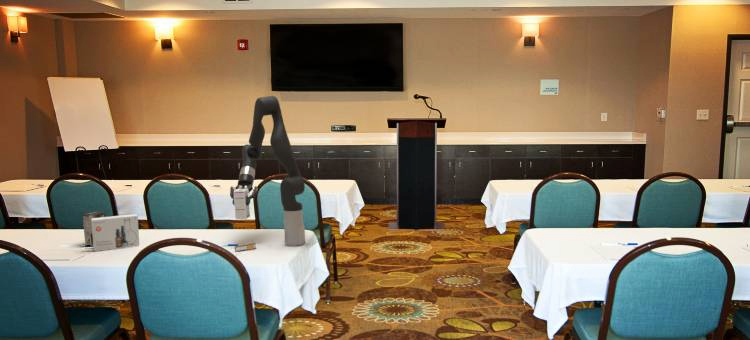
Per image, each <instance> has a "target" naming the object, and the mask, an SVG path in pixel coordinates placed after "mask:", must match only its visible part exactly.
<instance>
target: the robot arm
mask: <svg viewBox="0 0 750 340" xmlns="http://www.w3.org/2000/svg"><path fill="white" fill-rule="evenodd" d="M253 107H254V109H253V117H252V127H251V131H250V133H249V134H250V135H249V137H248V138H249V139H248V143H249V144H248V143H247V144H244V146H243V147H242V150H241V155H242V165H241V168H240V172H239V176H238V180H237V184H236V186H230V191H229V196H230V198H231V199H232V205H233V206H234V207H235V205H234V192H233V191H235V190H237V189H248V191H247V195H248V197H247V200H246V205H247V206H248V205H249V206H250V204H251V200H252V199H253V200H254V199H256V197H257V193H258V191H259V188H258V187H257V185H255V186H253V185H254V181H255V176H256V169H257V161H259V160H261V158H262V156H263V141H264V139H265V135H266V130H265V126H264V124H263V121H262V120H263V118H264V117H265V116H271V118H272V122H273V126H272V131H271V135H270V138H269V139H270V140H269V141H270V146H271V150H272V154H273V156H274V157H275V158H276V160H277V161H278V162H279V163H280V164H281V165H282V166H283V167H284V169H285V170H286V173H287V176H288V177H285V178H283V179H282V180H281V182H280V186H279V188H280V189H279V190H280V198H281V205H282V208H283V225H284V226H283V228H284V244H285V246H289V247H296V246H302V245H303V244H305V243H306V231H305V229H306V228H305V223H304V219H303V217H304V216H303V215H304V214H303V204H302V203H301V202H298V201H297V199H296V196H299V195H302V194H303V193H304V192H305V185H306V184H305V181H304V179H303V176H302V174H301V170H300V169H299V167H298V163H297V162H296V158H295V156H294V153H293V148H292V145H291V142H290V139H289V136H288V133H287V130H286V126H285V123H284V118H283V113H282V109H281V105H280V101H279V99H278V98H277V97H276V96H274V95H270V96H269V95H267V96H261V97H258V98H256V100H255V103H254V106H253ZM251 191H252V192H251ZM250 192H251V194H250Z"/></svg>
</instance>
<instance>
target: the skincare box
mask: <svg viewBox="0 0 750 340" xmlns="http://www.w3.org/2000/svg"><path fill="white" fill-rule="evenodd" d="M138 217H139V216H138V214H137V213H133V214H123V215H114V216H113V215H112V216H105V217H101V218H91V221H92V236H93V246H92V248H93V252H102V251H109V249H111V250H118V248H119V249H124V248H126V247H127V248H134V247H133V246H135V247H140V246H139V245H140V233H139V232H140V231H139V218H138ZM101 250H102V251H101Z"/></svg>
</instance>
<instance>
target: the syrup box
mask: <svg viewBox="0 0 750 340" xmlns="http://www.w3.org/2000/svg"><path fill="white" fill-rule="evenodd" d="M247 191H248V189H236V190H235V191H233V192H234V205H235V206H234V205H233V206H234V214H235V215H234V217H235V220H248V219H249V218H250V217H251V214H250V204H249V205H248V206H247V205H246V200H247V197H248V195H247Z"/></svg>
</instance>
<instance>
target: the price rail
mask: <svg viewBox="0 0 750 340" xmlns="http://www.w3.org/2000/svg"><path fill="white" fill-rule="evenodd" d="M255 249H257V243H256V242H252V243H246V244H239V245H234V252H235V251H236V252H237V251H238V252H242V251H249V250H250V251H251V250H255ZM238 252H237V253H238Z"/></svg>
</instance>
